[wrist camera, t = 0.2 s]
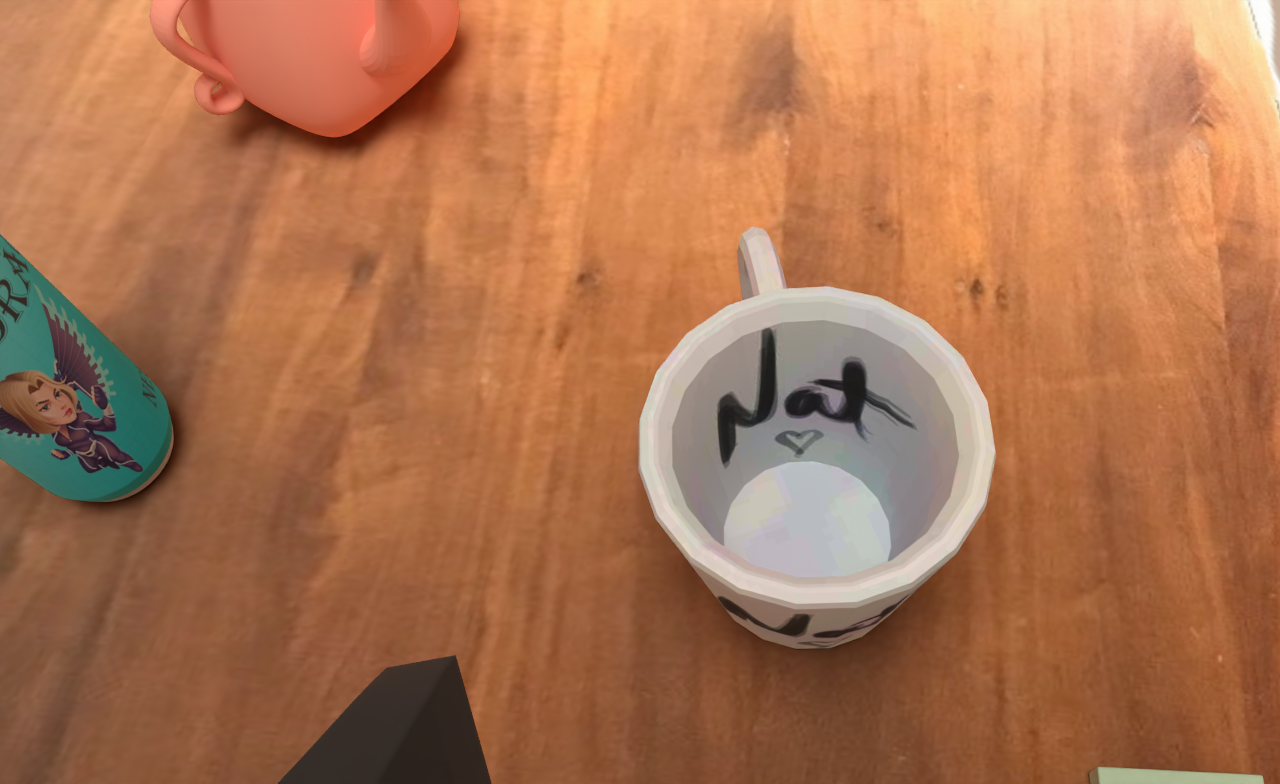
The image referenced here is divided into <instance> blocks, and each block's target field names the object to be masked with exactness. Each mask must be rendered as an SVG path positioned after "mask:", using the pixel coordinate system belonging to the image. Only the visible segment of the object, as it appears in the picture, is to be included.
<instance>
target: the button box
mask: <svg viewBox="0 0 1280 784" xmlns="http://www.w3.org/2000/svg"><path fill="white" fill-rule="evenodd" d="M1089 778H1090V784H1264V781H1263V777H1262V776H1261V775H1250V774H1231V773H1212V772H1193V771H1173V770H1154V769H1135V768H1116V767H1097V768H1096V769H1094V770H1093V771H1091V772H1090V773H1089Z"/></svg>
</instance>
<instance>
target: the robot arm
mask: <svg viewBox="0 0 1280 784" xmlns="http://www.w3.org/2000/svg"><path fill="white" fill-rule="evenodd" d="M278 784H491V780H490V776H489V773H488V769H487V766H486V762H485V759H484V755H483V751H482V748H481V744H480V741H479V737H478V734H477V730H476V726H475V723H474V719H473V716H472V712H471V709H470V705H469V701H468V698H467V694H466V691H465V687H464V684H463V680H462V676H461V673H460V669H459V666H458V662H457V659H456V655H455V656H449V657H444V658H438V659H433V660H427V661H422V662H416V663H411V664H405V665H400V666H394V667H389V668H386V669H385V670H384V671H383V672H382V673H381V674H380V675H379V676H378V677H377V678H376V679H374V680H373V681H372V682H371V683H370V684H369V685H368V687H367V688H366V689H365V690H364V691H363V692H362V693H361V694H360V695H359V696H358V697H357V698H356V699H355V700H354V701H353V702H352V703H351V705H350V706H349V707H348V708H347V709H346V710H345V711H344V712H343V713H342V714H341V715H340V716H339V718H338V719H337V720H336V721H335V722H334V723H333V724H332V725H331V726H330V727H329V729H328V730H327V731H326V732H325V733H324V734H323V735H322V736H321V737H320V738H319V740H318V741H317V742H316V743H315V744H314V745H313V746H312V747H311V748H310V749H309V750H308V752H307V753H306V754H305V755H304V756H303V757H302V758H301V759H300V760H299V761H298V762H297V763H296V764H295V766H294V767H293V768H292V769H291V770H290V771H289V772H288V773H287V774H286V775H285V776H284V777H283V778H282V779H281V781H280V782H279V783H278Z"/></svg>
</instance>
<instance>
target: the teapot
mask: <svg viewBox="0 0 1280 784" xmlns="http://www.w3.org/2000/svg"><path fill="white" fill-rule="evenodd" d="M178 17H180V20H181V22H182V24H183V26H184V28H185V30H186V32H187V33H188V35H189V37H190V38H191V40H192V42H193V43H194V45H195V47H196V48H194V47H193V46H191V45H190V44H188V43H187V42H186V41H185V40H183V39H182V37H181V36H180V35H179V34H178V32H177V27H176V25H177V19H178ZM150 21H151V26H152V29H153V31H154V33H155V35H156V37H157V39H158V40H159V41H160V43H161V44H162V45H163V46H164V47H165V48H166V49H167V50H168V51H169V52H170V53H172V54H173V55H174V56H176V57H177V58H178V59H180V60H181V61H183V62H185V63H186V64H188V65H190V66H192V67H193V68H195V69H197V70H199V71H201V72H203V73H204V74H202V75H201V76H200V77H199V78H198V79H197V80H196V83H195V86H194V93H195V96H196V99H197V101H198V103H199V105H200V106H201V107H202V108H203V109H204V110H206V111H207V112H209V113H211V114H215V115H225V114H228V113H231V112H233V111H235V110H237V109H238V108H240V107H241V106H242V104H243V103H244V101H245V99H246V100H248V101H249V102H251V103H252V104H254V105H255V106H257V107H259V108H260V109H262V110H264V111H266V112H268V113H270V114H271V115H273V116H275V117H277V118H279V119H281V120H283V121H285V122H288V123H290V124H292V125H294V126H297V127H299V128H301V129H303V130H306V131H309V132H312V133H315V134H318V135H322V136H327V137H341V136H345V135H348V134H350V133H352V132H354V131H356V130H358V129H359V128H361V127H362V126H364V125H365V124H367V123H368V122H369V121H371V120H372V119H374V118H375V117H376V116H377V115H379V114H380V113H381V112H383V111H384V110H385V109H386V108H388V107H389V106H390V105H392V104H393V103H394V102H395V101H396V100H398V99H399V98H400V97H401V96H402V95H404V94H405V93H406V92H407V91H408V90H409V89H411V88H412V87H413V86H414V85H415V84H416V83H417V82H418V81H419V80H421V79H422V78H423V77H424V76H425V75H426V74H427V73H428V72H429V71H430V70H431V69H432V68H433V67H434V66H435V65H436V64H437V63H438V62H439V61H440V60H441V59H442V58H443V57H444V56H445V54H446V53H447V52H448V51H449V49H450V48H451V46H452V45H453V42H454V39H455V36H456V32H457V27H458V22H459V5H458V0H153V1H152V5H151V9H150ZM219 82H221V88H220V89H219V90H218V91H217V92H216V93H214V94H212V90H213V88H214V87H215V86H216V85H218V84H219Z"/></svg>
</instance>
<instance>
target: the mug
mask: <svg viewBox="0 0 1280 784" xmlns="http://www.w3.org/2000/svg"><path fill="white" fill-rule="evenodd" d="M737 255H738V266H739V276H740V284H741V291H742V299H743V301H740V302H737V303H734V304H731V305H728V306H726V307H725V308H723V309H722V310H720V311H719V312H717V313H716V314H715V315H713V316H712V317H710V318H709V319H707V320H706V321H704V322H703V323H701V324H700V325H699V326H697V327H696V328H694V329H693V330H691V331H690V332H688V333H687V334H686V335H685V336H684V338H683V339H682V340H681V342H680V343H679V344H678V345H677V347H676V348H675V349H674V350H673V352H672V353H671V354H670V355H669V357H668V358H667V359H666V361H665V362H664V363H663V364H662V366H661V367H660V368H659V369H658V371H657V372H656V375H655V378H654V380H653V383H652V386H651V389H650V392H649V394H648V397H647V400H646V403H645V406H644V408H643V411H642V414H641V417H640V420H639V473H640V476H641V479H642V482H643V484H644V487H645V490H646V493H647V496H648V498H649V501H650V504H651V507H652V510H653V513H654V515H655V518H656V520H657V521H658V523H659V524H660V525H661V527H662V528H663V529H664V531H665V532H666V533H667V534H668V536H669V537H670V538H671V540H672V541H673V542H674V544H675V545H676V546H677V548H678V549H679V550H680V551H681V553H682V554H683V555H684V557H685V558H686V559H687V561H688V562H689V563H690V564H691V566H692V567H693V568H694V570H695V571H696V572H697V574H698V575H699V576H700V578H701V579H702V580H703V581H704V583H705V584H706V585H707V587H708V588H709V589H710V591H711V592H712V593H713V594H714V596H715V597H716V598H717V600H718V601H719V602H720V603H721V605H722V606H723V607H724V608H725V610H726V611H727V612H728V613H729V615H730V616H731V617H732V618H733V620H734V621H736V622H737V623H739V624H740V625H742V626H743V627H745V628H746V629H748V630H749V631H751V632H752V633H754V634H755V635H757V636H758V637H760V638H761V639H763V640H767V641H770V642H774V643H777V644H781V645H784V646H788V647H791V648H794V649H810V648H832V647H835V646H837V645H840V644H843V643H846V642H849V641H852V640H854V639H857V638H860V637H863V636H864V635H865V634H866V633H868V632H869V631H870V630H872V629H873V628H874V627H875V626H877V625H878V624H879V623H880V622H882V621H883V620H884V619H886V618H887V617H888V616H889V615H890V614H891V613H893V612H894V611H895V610H896V609H897V608H898V607H899V606H900V605H901V604H902V603H903V602H904V601H906V600H907V599H908V598H909V597H910V596H911V595H912V594H913V593H914V592H915V591H916V590H917V589H919V588H920V587H921V586H922V585H923V584H924V583H925V582H926V581H927V580H928V579H929V578H930V577H932V576H933V575H934V574H935V573H936V572H937V571H938V570H939V569H940V568H941V567H942V566H943V565H944V564H946V563H947V562H948V561H949V560H950V559H951V558H952V557H953V556H954V555H955V554H956V553H957V552H958V551H959V549H960V547H961V546H962V544H963V543H964V541H965V539H966V538H967V536H968V535H969V533H970V531H971V530H972V528H973V527H974V525H975V523H976V522H977V520H978V519H979V517H980V515H981V514H982V512H983V511H984V509H985V508H986V504H987V499H988V494H989V489H990V484H991V479H992V474H993V469H994V464H995V459H996V452H995V446H994V439H993V433H992V427H991V421H990V414H989V408H988V403H987V400H986V398H985V397H984V395H983V393H982V391H981V389H980V387H979V386H978V384H977V382H976V380H975V378H974V376H973V374H972V373H971V371H970V369H969V367H968V365H967V363H966V362H965V360H964V358H963V356H962V355H961V354H960V353H958V352H957V351H956V350H955V349H954V348H953V347H952V346H951V345H950V344H949V343H948V342H947V341H946V340H945V339H944V338H943V337H942V336H941V335H940V334H939V333H937V332H936V331H935V330H934V329H933V328H932V327H931V326H930V325H929V324H928V323H927V322H926V321H924V320H923V319H921V318H919V317H917V316H915V315H913V314H911V313H909V312H907V311H905V310H903V309H901V308H899V307H897V306H895V305H893V304H891V303H889V302H887V301H886V300H884V299H882V298H880V297H876V296H871V295H866V294H862V293H857V292H852V291H847V290H842V289H838V288H833V287H828V286H826V287H809V288H791V289H787V287H786V283H785V279H784V275H783V271H782V267H781V264H780V260H779V257H778V254H777V251H776V248H775V246H774V244H773V242H772V241H771V239H770V237H769V236H768V234H767V233H766V231H765V229H760V228H756V227H751V228H750V229H748V230H747V231H745V232H744V233H742V235H741V239H740V242H739V246H738V250H737Z"/></svg>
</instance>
